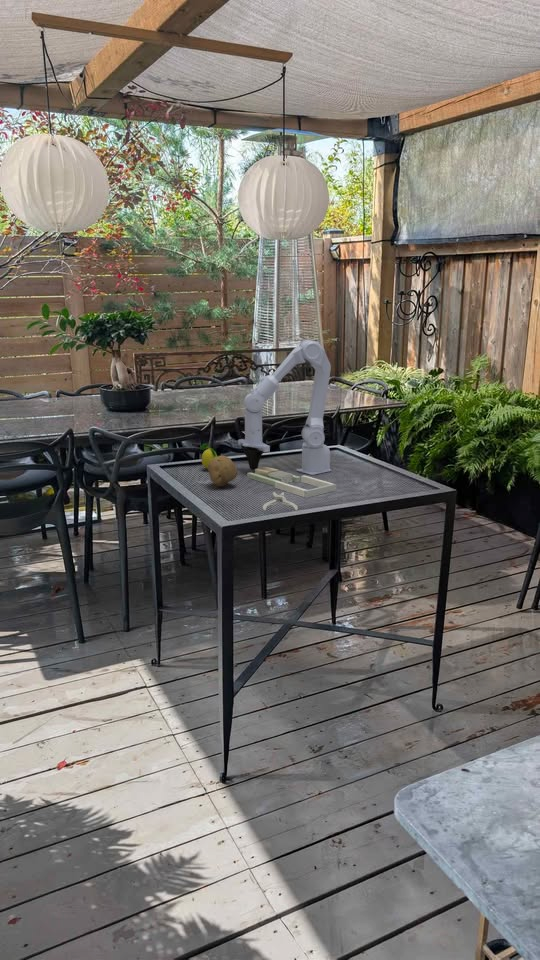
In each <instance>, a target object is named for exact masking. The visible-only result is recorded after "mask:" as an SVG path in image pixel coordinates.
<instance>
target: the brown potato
mask: <svg viewBox="0 0 540 960" xmlns="http://www.w3.org/2000/svg"><path fill="white" fill-rule="evenodd" d="M207 470H208V474H209V479H210V480H211V482H212V484H214V485H215V486H216V487H218V488H222V487H225V486H226V485H228V484H229V483H230V482H232V481H234V479H236V477H237V475H238V469H237V467H236V465H235V463H234V462H233V461H232V459H231V458H230V457H228V456H226V455H222V454H221V455H217V457H214V458H213V459H212V460H211V461H210V462H209V464H208V469H207Z"/></svg>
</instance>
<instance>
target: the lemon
mask: <svg viewBox="0 0 540 960" xmlns="http://www.w3.org/2000/svg"><path fill="white" fill-rule="evenodd" d="M210 444H211V443H210V441H209V442H208V444H207V443H205V442H204V443H202V445H200V448H199V449H200V450H204V451H203V453H202V454H201V465H202V466H203V467H204V468H206V469H207V470H208V464H209V462H210V461H211V460H212V459H213V458H214V457H217V456H218V455H217V453H216V450H214V448H212V447H211V445H210Z"/></svg>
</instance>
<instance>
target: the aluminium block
mask: <svg viewBox="0 0 540 960" xmlns="http://www.w3.org/2000/svg"><path fill="white" fill-rule="evenodd" d="M293 475H294V474H293V473H290V472H286V471H283V470H278V471H276V472H271V473H269V478H271V479H274V480H277V481H280V482H283V483H286V484H290V483H293V481H292V478H293Z"/></svg>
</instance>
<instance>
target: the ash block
mask: <svg viewBox="0 0 540 960" xmlns="http://www.w3.org/2000/svg"><path fill="white" fill-rule="evenodd" d="M276 471H279V469H277V468H273V467H268V466H263V467H258V468H257V469H255V470H254V473H255V474H258V475H261V476H264V477H268V478H269V473H271V472H276Z"/></svg>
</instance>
